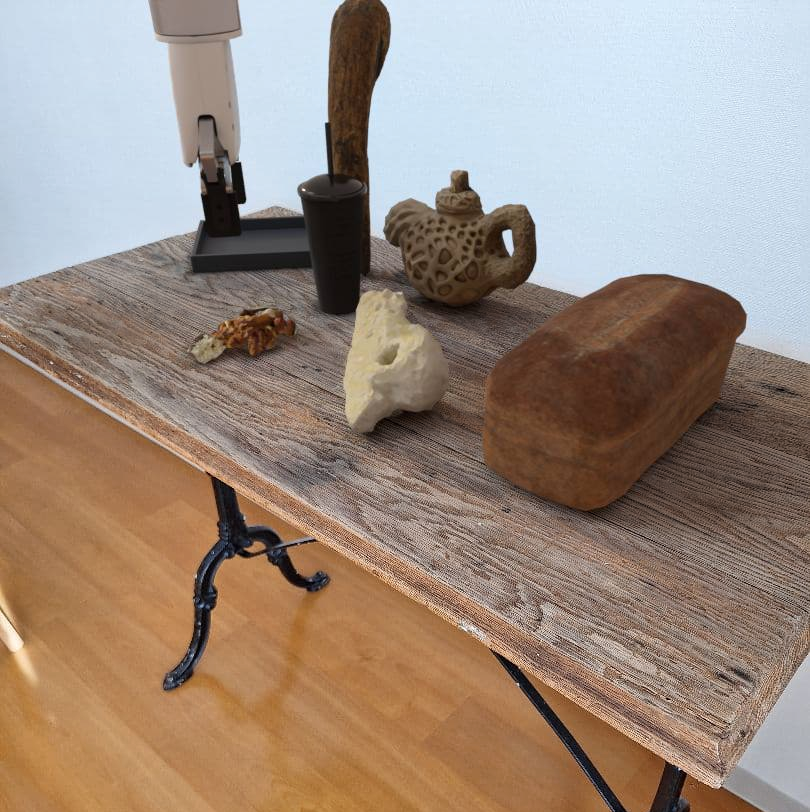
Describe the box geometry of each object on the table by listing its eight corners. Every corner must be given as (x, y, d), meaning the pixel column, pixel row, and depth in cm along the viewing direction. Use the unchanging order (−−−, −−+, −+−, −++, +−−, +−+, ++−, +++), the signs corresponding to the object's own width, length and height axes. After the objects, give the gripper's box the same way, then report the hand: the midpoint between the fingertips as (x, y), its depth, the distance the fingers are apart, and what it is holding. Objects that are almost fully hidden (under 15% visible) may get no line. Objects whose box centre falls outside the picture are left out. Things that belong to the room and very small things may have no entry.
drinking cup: (358, 322, 94) (349, 134, 81) (297, 314, 96) (279, 129, 83) (379, 296, 99) (374, 116, 87) (321, 289, 101) (307, 112, 88)
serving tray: (193, 272, 106) (190, 256, 105) (202, 234, 117) (199, 220, 115) (324, 266, 107) (323, 250, 106) (321, 229, 118) (320, 214, 117)
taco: (179, 350, 89) (173, 318, 86) (271, 318, 95) (267, 288, 92) (212, 372, 85) (206, 341, 82) (306, 338, 91) (303, 308, 88)
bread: (740, 398, 80) (775, 277, 72) (600, 541, 63) (627, 403, 55) (613, 358, 86) (632, 243, 79) (456, 477, 70) (461, 346, 62)
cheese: (433, 470, 74) (506, 328, 75) (378, 432, 69) (456, 281, 71) (343, 446, 86) (407, 323, 87) (291, 411, 81) (360, 282, 82)
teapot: (359, 294, 100) (353, 164, 90) (419, 267, 107) (419, 143, 97) (500, 344, 89) (511, 203, 80) (557, 310, 96) (573, 176, 86)
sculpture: (396, 262, 108) (392, -8, 89) (389, 284, 102) (383, 0, 83) (345, 261, 109) (330, -9, 89) (335, 282, 103) (317, 0, 84)
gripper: (164, 6, 77) (198, 195, 87) (137, 34, 63) (181, 252, 74) (244, 3, 77) (268, 191, 88) (234, 30, 64) (263, 247, 75)
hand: (228, 219), depth 81 cm, fingers open, 9 cm apart
